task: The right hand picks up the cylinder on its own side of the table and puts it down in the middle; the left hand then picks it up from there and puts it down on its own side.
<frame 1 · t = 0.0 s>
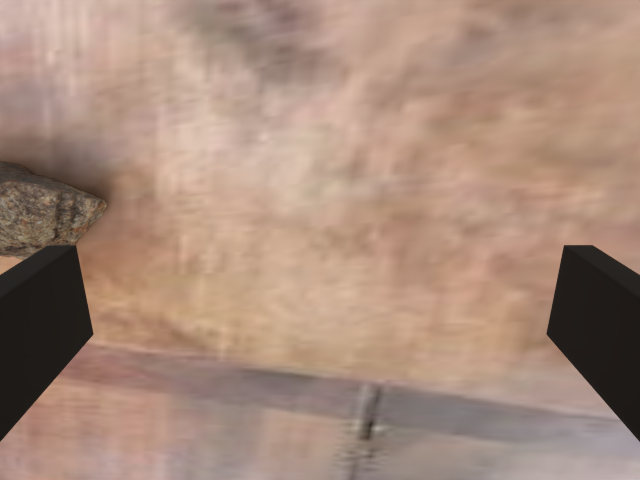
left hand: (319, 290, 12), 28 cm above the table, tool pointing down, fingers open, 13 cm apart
rock: (32, 202, 41), on the table
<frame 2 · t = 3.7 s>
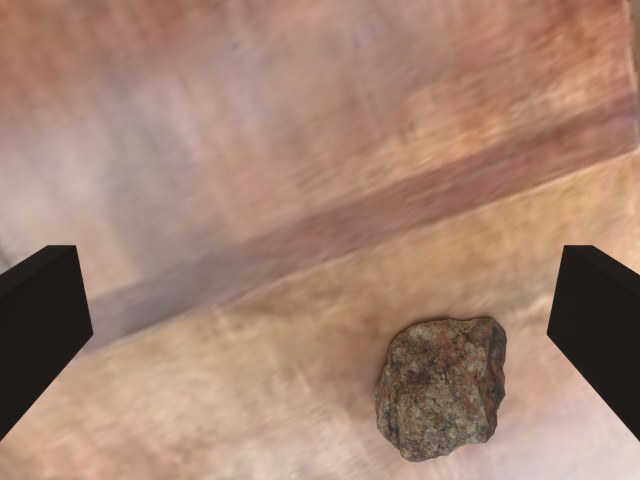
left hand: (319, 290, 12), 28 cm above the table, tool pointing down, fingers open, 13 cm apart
rock: (434, 358, 47), on the table
when the right hand's fingers open (2 cm above the table, at t = 9.8 s): cylinder stays where it is, on the table.
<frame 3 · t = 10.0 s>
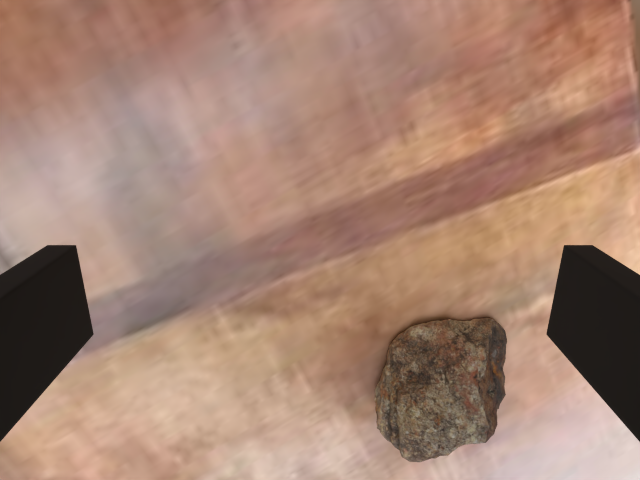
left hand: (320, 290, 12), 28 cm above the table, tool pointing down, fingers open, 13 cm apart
rock: (434, 358, 47), on the table
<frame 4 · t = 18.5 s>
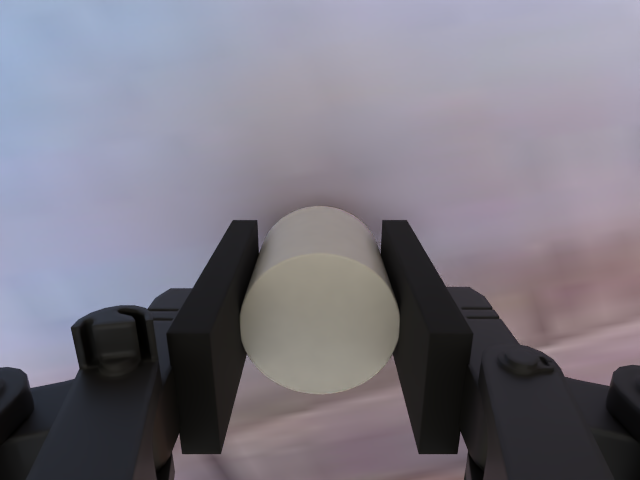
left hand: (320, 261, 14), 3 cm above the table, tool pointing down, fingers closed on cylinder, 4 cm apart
cylinder: (319, 263, 15), point 2 cm above the table, touching left hand
when the left hand's fingers open (0 cm above the table, at t = 22.8 s): cylinder stays where it is, on the table.
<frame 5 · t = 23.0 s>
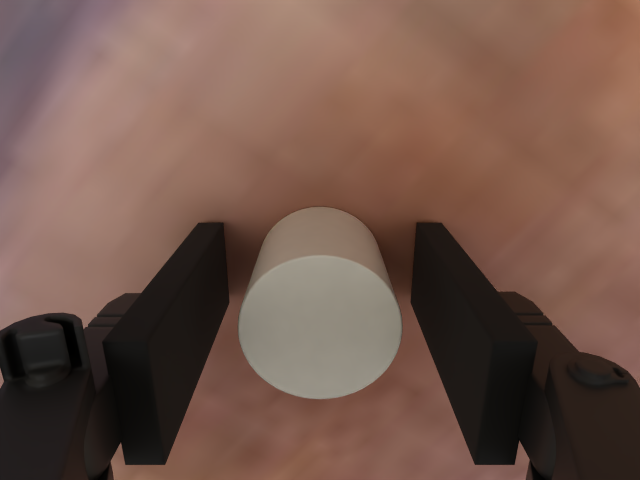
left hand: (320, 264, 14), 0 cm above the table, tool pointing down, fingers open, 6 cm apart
cylinder: (319, 265, 15), on the table
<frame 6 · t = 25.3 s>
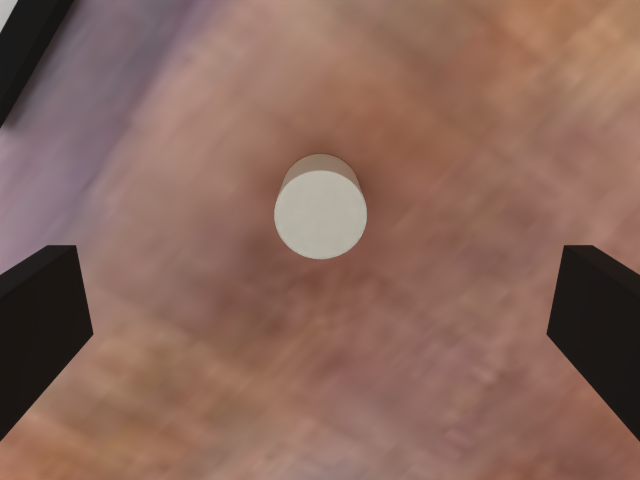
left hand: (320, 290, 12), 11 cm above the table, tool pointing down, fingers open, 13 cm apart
cylinder: (320, 192, 23), on the table
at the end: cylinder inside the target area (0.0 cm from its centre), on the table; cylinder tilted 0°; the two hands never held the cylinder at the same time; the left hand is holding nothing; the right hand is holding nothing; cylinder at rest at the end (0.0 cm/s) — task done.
